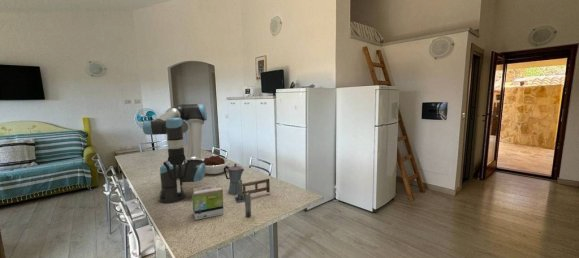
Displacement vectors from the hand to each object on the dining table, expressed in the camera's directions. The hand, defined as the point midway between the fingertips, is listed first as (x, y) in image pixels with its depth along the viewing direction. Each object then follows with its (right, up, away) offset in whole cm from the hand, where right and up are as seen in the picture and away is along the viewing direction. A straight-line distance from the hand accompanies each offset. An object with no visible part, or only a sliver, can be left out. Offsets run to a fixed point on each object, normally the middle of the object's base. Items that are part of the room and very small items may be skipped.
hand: (179, 191), depth 131 cm
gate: (+37, -10, +30) cm, 49 cm away
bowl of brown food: (-6, -5, +83) cm, 84 cm away
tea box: (+13, -15, +8) cm, 21 cm away
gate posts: (+31, -13, +15) cm, 37 cm away
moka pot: (+21, -11, +39) cm, 45 cm away
